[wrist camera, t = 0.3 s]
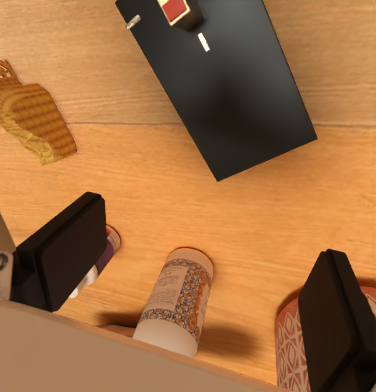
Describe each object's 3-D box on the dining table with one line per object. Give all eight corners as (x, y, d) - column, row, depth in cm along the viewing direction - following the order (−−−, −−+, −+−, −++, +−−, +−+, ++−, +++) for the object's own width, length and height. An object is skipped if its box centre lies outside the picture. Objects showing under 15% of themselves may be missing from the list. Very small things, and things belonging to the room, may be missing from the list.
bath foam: (212, 286, 38) (175, 471, 22) (168, 277, 40) (100, 444, 23) (215, 250, 35) (174, 437, 18) (167, 242, 36) (86, 408, 20)
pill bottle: (111, 219, 37) (68, 268, 29) (126, 249, 39) (91, 301, 31) (82, 224, 39) (34, 271, 31) (98, 252, 41) (57, 302, 33)
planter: (290, 262, 33) (309, 391, 20) (466, 296, 29) (619, 477, 17) (263, 348, 43) (264, 472, 30) (393, 381, 39) (456, 538, 26)
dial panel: (108, -28, 23) (88, -39, 20) (208, -132, 18) (199, -164, 16) (220, 171, 29) (216, 183, 27) (313, 129, 25) (319, 139, 22)
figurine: (57, 157, 34) (13, 180, 28) (2, 60, 29) (-66, 62, 23) (79, 150, 33) (37, 172, 27) (24, 47, 28) (-41, 46, 22)
